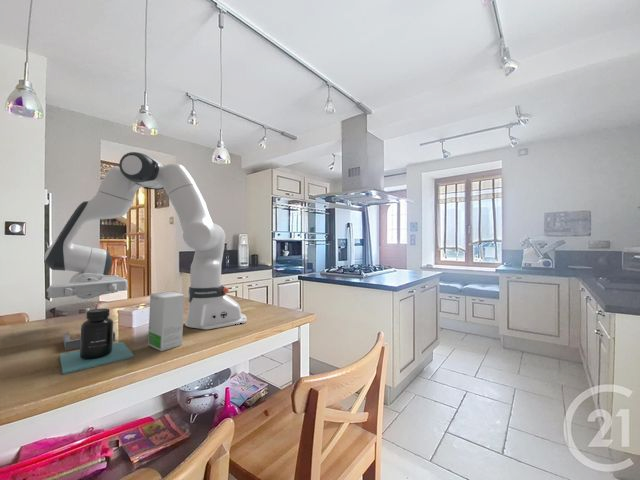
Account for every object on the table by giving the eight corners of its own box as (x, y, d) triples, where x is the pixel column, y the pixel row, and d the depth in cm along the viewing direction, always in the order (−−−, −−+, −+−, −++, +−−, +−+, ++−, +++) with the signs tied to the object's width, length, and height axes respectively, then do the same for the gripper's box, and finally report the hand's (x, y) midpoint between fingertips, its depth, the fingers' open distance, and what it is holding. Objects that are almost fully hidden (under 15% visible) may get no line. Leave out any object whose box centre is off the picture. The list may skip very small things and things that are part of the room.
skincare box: (147, 345, 82) (148, 293, 82) (169, 339, 88) (170, 290, 88) (161, 352, 78) (162, 296, 78) (184, 344, 83) (185, 293, 83)
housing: (63, 341, 85) (63, 333, 85) (109, 333, 93) (109, 325, 93) (65, 350, 78) (65, 342, 78) (114, 340, 86) (115, 332, 86)
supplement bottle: (94, 361, 70) (95, 314, 70) (72, 358, 71) (73, 312, 71) (118, 351, 76) (119, 307, 77) (98, 349, 78) (99, 306, 78)
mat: (59, 356, 74) (59, 354, 74) (122, 343, 84) (122, 341, 84) (62, 374, 64) (62, 371, 64) (133, 357, 74) (133, 354, 74)
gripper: (46, 279, 89) (47, 284, 79) (122, 274, 104) (131, 277, 94) (46, 299, 89) (47, 305, 79) (122, 291, 104) (131, 295, 94)
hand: (93, 290), depth 87 cm, fingers open, 8 cm apart
